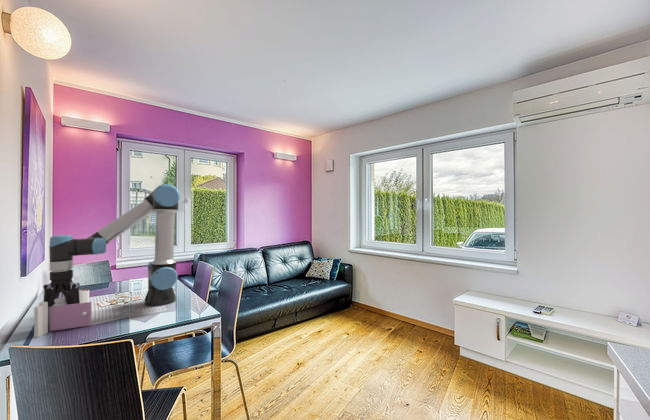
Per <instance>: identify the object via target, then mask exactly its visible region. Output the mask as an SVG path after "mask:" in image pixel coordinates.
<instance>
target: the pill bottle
mask: <svg viewBox="0 0 650 420" xmlns="http://www.w3.org/2000/svg"><path fill="white" fill-rule="evenodd" d="M54 303H55V304H54V305H53V306H60V305H67V302H66V300H65V297H63V296H62V297H58V298H57V299H55V300H54Z"/></svg>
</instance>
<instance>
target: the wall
mask: <svg viewBox="0 0 650 420" xmlns="http://www.w3.org/2000/svg"><path fill="white" fill-rule="evenodd" d="M83 290H84V289H79V300H80V303H86V302H87V291H83ZM33 313H34V317H33V318H34V319H33V320H34V322H33V323H34V324H33V325H34V326H33V327H34V328H33V329H34V330H33V332H34V333H33V334H34V335H33V336H34V338H40V337H42V336H44V335H47V334H48V333H49V332H48V302H44V301H42V302H39V304H38V306H35V307H33Z"/></svg>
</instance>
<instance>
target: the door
mask: <svg viewBox="0 0 650 420" xmlns="http://www.w3.org/2000/svg"><path fill="white" fill-rule="evenodd" d="M88 326H92V301H89V302H86V303H77V304H69V305H60V306H51V307H48V333H49V332H53V331H54V332H55V331H60V330H68V329H74V328H81V327H82V328H83V327H88Z"/></svg>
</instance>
